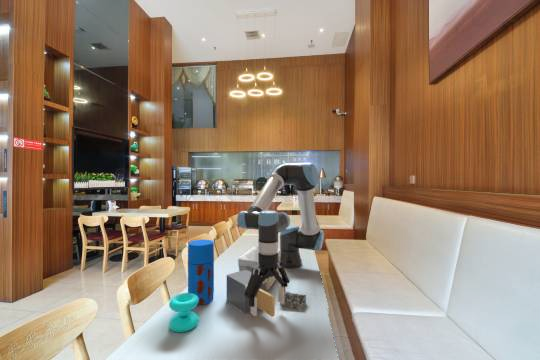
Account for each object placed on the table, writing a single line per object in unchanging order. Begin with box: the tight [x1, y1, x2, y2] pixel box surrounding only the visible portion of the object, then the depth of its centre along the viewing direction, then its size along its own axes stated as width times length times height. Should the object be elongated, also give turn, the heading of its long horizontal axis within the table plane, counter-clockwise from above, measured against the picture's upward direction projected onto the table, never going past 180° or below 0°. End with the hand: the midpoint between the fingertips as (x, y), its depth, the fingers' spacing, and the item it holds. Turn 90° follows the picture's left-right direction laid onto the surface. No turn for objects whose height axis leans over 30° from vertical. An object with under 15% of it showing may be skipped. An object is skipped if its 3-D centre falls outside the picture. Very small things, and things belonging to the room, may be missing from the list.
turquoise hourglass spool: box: [168, 292, 200, 333], centre depth 91 cm, size 10×10×10 cm
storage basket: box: [237, 245, 281, 292], centre depth 130 cm, size 24×16×15 cm
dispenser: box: [226, 270, 267, 315], centre depth 106 cm, size 15×10×11 cm, turn 40°
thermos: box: [187, 239, 215, 307], centre depth 110 cm, size 11×11×25 cm
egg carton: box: [279, 291, 307, 310], centre depth 106 cm, size 11×8×4 cm
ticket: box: [255, 289, 276, 318], centre depth 102 cm, size 22×1×7 cm, turn 40°
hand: (268, 308), depth 95 cm, fingers open, 13 cm apart
